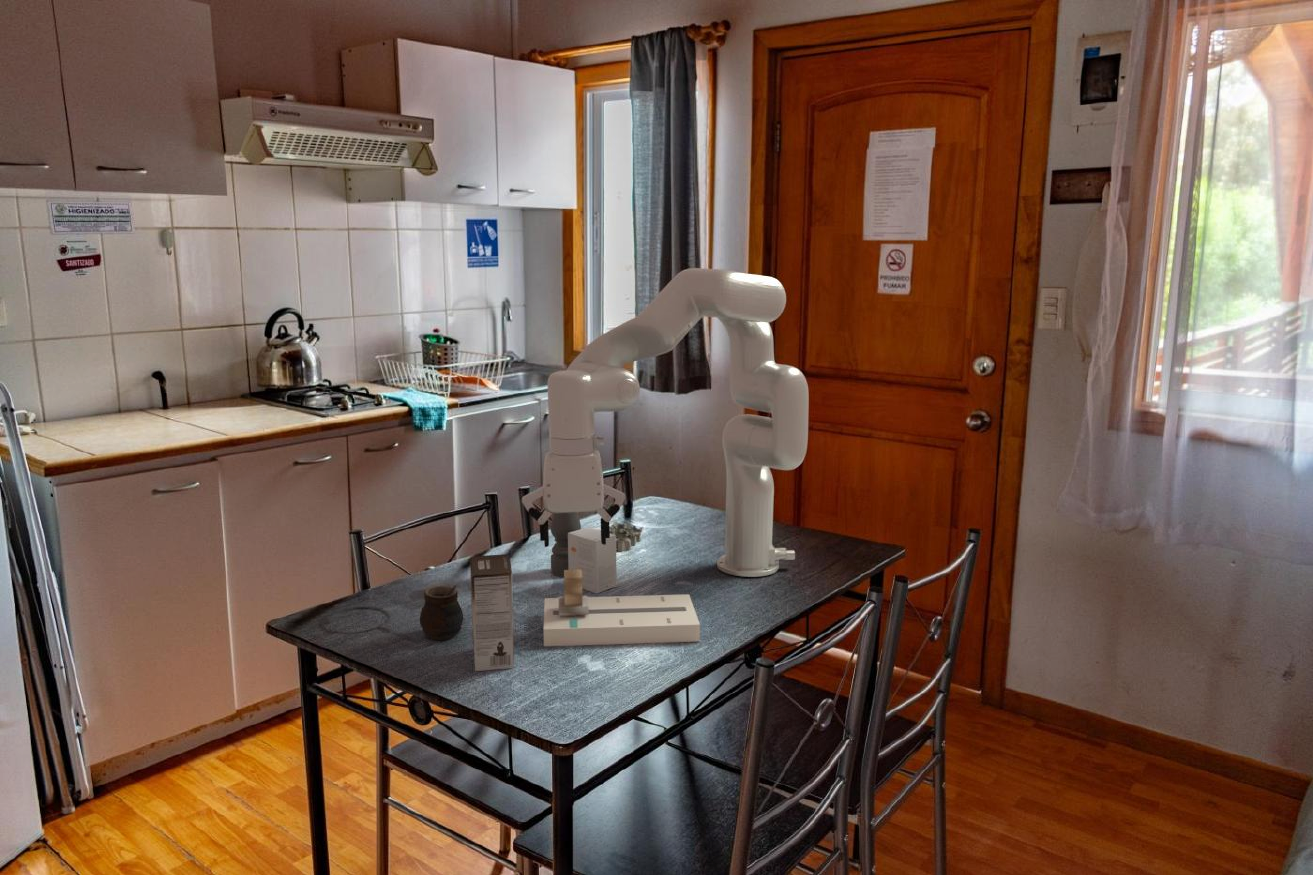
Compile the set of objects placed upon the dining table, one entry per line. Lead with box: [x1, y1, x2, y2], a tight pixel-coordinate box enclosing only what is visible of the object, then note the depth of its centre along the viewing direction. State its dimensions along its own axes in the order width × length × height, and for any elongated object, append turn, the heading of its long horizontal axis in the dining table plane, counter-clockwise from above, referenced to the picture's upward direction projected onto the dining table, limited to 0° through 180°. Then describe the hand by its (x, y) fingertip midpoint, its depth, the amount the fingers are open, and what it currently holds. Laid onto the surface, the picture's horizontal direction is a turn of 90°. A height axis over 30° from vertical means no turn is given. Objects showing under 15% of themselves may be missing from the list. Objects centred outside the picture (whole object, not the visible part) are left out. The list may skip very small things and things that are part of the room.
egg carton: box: [609, 521, 643, 553], centre depth 218 cm, size 11×8×4 cm
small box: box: [568, 526, 618, 594], centre depth 192 cm, size 8×6×10 cm
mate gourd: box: [419, 584, 464, 641], centre depth 168 cm, size 7×8×10 cm
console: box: [543, 593, 701, 647], centre depth 172 cm, size 26×14×3 cm, turn 96°
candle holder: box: [549, 513, 582, 578], centre depth 197 cm, size 6×6×25 cm
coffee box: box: [469, 553, 515, 672], centre depth 158 cm, size 9×6×16 cm
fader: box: [558, 570, 589, 616], centre depth 171 cm, size 5×5×6 cm
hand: (575, 543), depth 169 cm, fingers open, 9 cm apart
